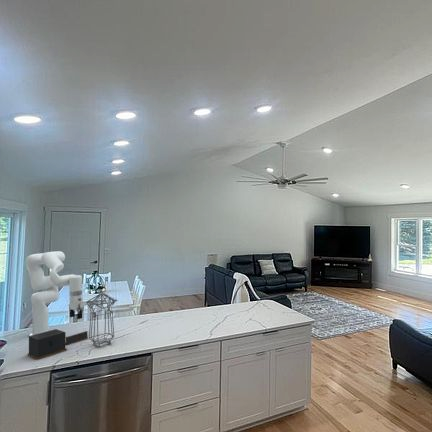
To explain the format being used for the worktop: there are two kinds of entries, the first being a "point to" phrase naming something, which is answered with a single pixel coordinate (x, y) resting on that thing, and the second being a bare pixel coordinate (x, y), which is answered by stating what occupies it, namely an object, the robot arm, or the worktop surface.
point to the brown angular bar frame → (76, 338)
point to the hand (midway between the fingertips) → (75, 317)
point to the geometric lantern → (101, 314)
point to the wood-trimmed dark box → (46, 344)
